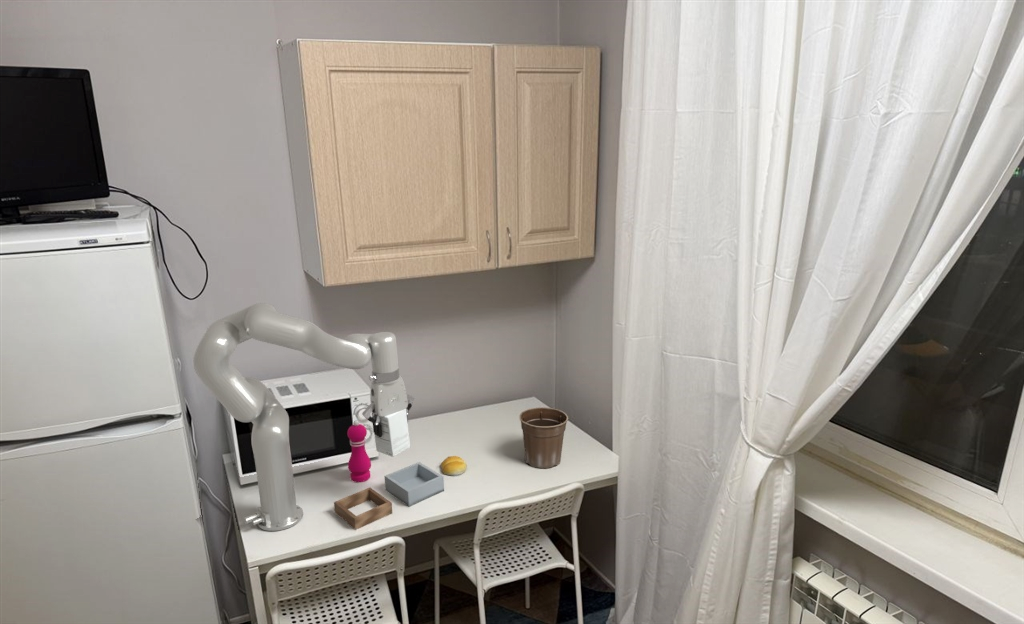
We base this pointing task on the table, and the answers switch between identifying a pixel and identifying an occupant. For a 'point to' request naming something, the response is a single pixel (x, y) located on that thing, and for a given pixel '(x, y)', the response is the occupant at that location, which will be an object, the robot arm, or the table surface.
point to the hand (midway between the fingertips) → (391, 430)
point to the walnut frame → (366, 517)
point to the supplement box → (393, 434)
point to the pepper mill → (358, 453)
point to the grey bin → (414, 483)
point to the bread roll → (453, 466)
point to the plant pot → (543, 435)
